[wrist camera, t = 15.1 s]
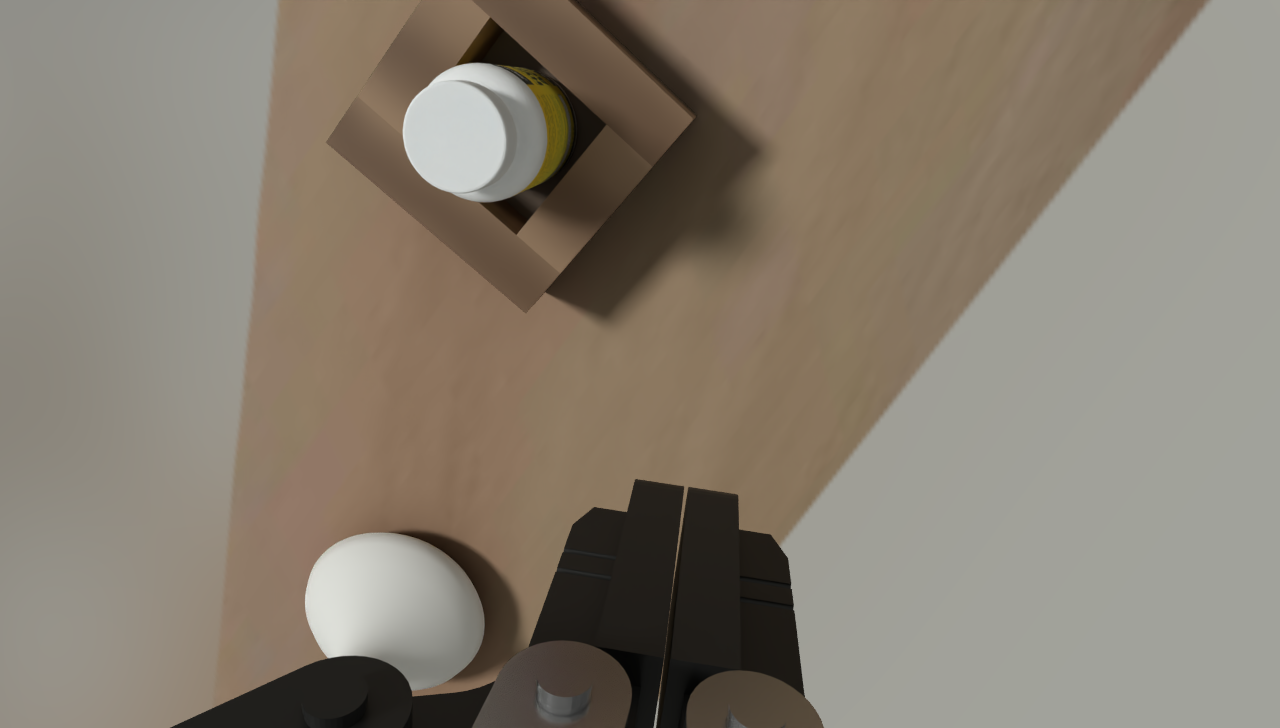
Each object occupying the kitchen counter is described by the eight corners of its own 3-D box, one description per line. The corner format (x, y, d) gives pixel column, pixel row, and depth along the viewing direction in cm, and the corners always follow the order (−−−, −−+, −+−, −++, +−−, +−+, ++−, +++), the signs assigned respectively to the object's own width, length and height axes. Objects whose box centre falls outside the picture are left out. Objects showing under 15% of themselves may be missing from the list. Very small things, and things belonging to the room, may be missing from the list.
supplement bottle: (575, 64, 35) (521, 57, 26) (582, 183, 37) (533, 214, 28) (464, 68, 36) (373, 62, 27) (475, 184, 38) (394, 216, 29)
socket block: (505, -67, 35) (477, -85, 31) (697, 115, 37) (693, 119, 33) (365, 136, 39) (325, 142, 35) (544, 292, 40) (525, 313, 37)
